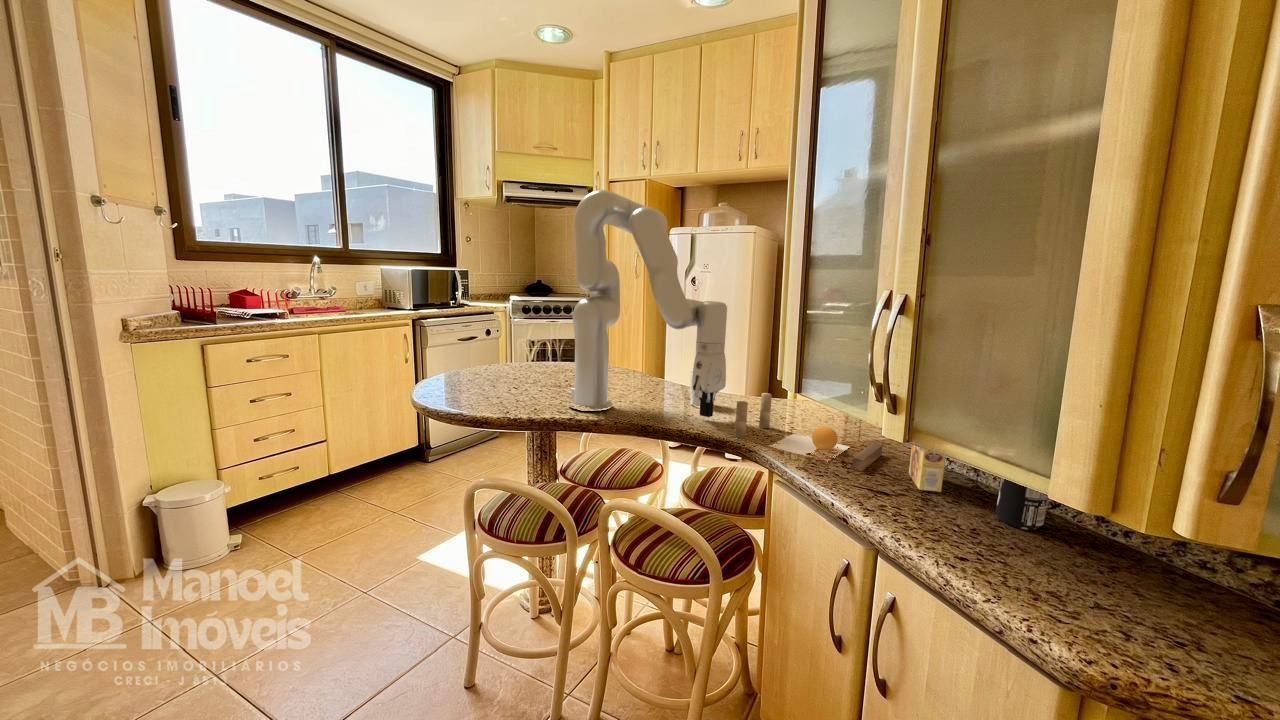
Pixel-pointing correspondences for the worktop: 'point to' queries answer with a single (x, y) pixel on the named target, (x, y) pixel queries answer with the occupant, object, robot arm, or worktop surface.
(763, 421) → the post
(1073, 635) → the worktop surface
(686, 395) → the worktop surface
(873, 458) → the stopper wall
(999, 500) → the beverage can
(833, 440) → the ball
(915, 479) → the candy box
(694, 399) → the white cup
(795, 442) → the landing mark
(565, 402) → the worktop surface
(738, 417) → the post
